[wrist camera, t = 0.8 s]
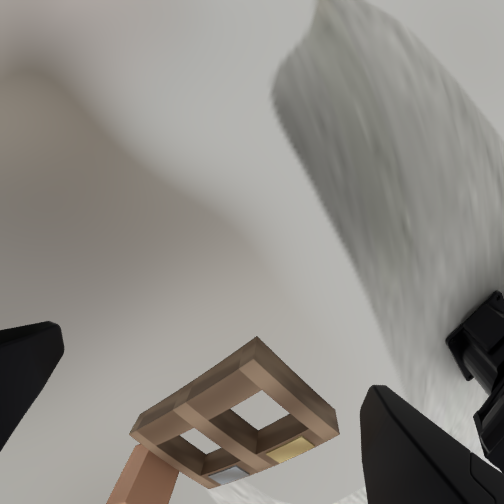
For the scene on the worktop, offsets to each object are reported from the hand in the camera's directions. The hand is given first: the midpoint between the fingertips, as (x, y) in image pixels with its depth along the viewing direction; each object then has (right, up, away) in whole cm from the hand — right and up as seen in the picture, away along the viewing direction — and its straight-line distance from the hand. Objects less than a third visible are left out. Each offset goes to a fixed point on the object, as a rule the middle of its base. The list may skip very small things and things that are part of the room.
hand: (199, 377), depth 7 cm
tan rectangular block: (-9, -18, +19) cm, 28 cm away
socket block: (0, -11, +16) cm, 20 cm away
